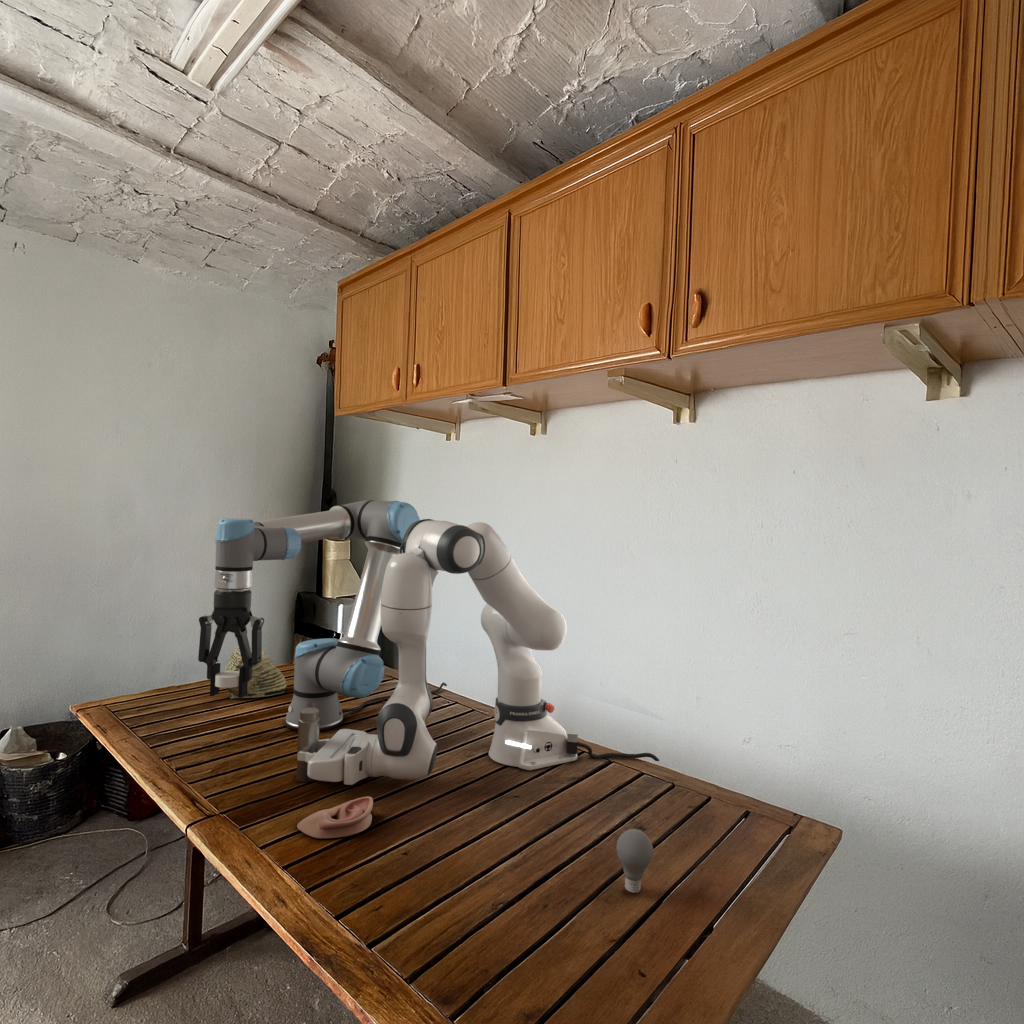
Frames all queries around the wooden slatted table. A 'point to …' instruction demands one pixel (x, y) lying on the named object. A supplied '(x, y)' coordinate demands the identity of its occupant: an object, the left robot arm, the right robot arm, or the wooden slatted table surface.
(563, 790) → the wooden slatted table surface
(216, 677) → the lid
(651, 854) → the light bulb
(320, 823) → the anatomical model
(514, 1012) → the wooden slatted table surface
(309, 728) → the metal cylinder
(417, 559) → the right robot arm
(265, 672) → the fossil
